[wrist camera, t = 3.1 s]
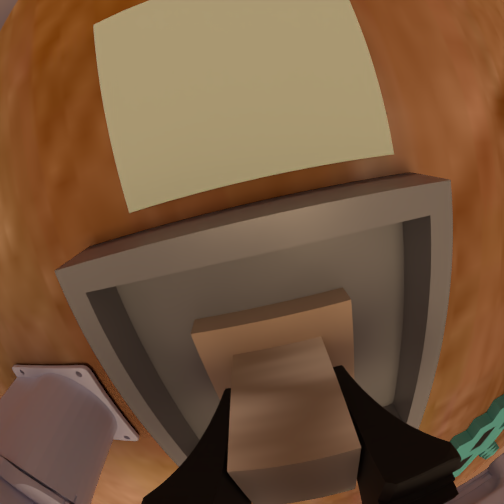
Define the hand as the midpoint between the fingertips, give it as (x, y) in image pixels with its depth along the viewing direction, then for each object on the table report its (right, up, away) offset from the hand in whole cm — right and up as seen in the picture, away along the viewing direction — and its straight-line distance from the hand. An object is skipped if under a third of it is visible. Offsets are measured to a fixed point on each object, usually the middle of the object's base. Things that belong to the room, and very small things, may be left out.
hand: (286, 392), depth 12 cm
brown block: (0, 0, +1) cm, 1 cm away
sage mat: (-2, +14, -2) cm, 14 cm away
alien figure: (+30, -19, +11) cm, 37 cm away
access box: (0, +1, +3) cm, 3 cm away
